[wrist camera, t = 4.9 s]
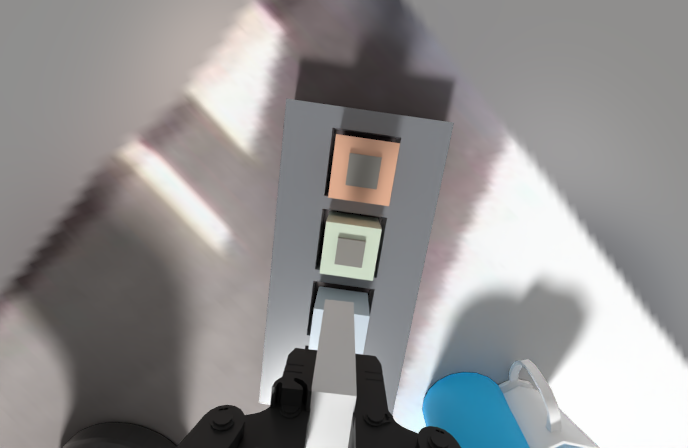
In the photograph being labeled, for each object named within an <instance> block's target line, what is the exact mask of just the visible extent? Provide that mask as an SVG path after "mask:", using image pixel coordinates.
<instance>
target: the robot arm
mask: <svg viewBox="0 0 688 448" xmlns="http://www.w3.org/2000/svg"><path fill="white" fill-rule="evenodd" d="M63 448H461V447H460V445H459V443H458V442H457V440H456V439H455V438H454V437H453V436H452V435H451V434H450V433H448V432H447V431H446V430H444V429H441V428H439V427H434V426H428V427H425V428H422V429H421V431H420V432H419V434H418V433H415V432H413V431H410V430H408V429H406V428H404V427H402V426H400V425H399V424H398V423H396V422H395V421H394V419H393V416H392V414H391V413H390V412H389V410H388V405H387V398H386V391H385V385H384V378H383V371H382V365H381V363H380V361H379V360H378V359H377V357H376V356H372V355H363V354H355V328H354V302H345V301H337V300H328V299H325V304H324V310H323V317H322V323H321V330H320V336H319V343H318V349H317V350H311V349H302V348H295V349H294V350H293V351H292V352H291V353H290V354H289V355H288V358H287V361H286V365H285V368H284V372H283V375H282V377H280V378H279V379H278V380H276V381H275V382H274V384H273V385H272V390H271V403H270V407H269V408H267V409H266V410H264V411H262V412H259V413H255V414H250V415H244V413H243V412H242V410H241V409H239V408H238V407H236V406H231V405H224V406H218V407H216V408H214V409H212V410H210V411H209V412H208V413H207V414H205V415H204V416H203V418H202V419H201V420H200V421H199V422H198V423H197V424H196V426H195V427H194V428H193V429H192V430H191V431H190V433H189V434H188V435H187V436H186V437H185V438H184V439H183V441H182V442H181V443H180V444H179V445H178V446H176V445H174V444H173V443H172V442H171V441H169V440H168V439H167V438H165V437H163V436H162V435H160V434H158V433H156V432H154V431H152V430H149V429H147V428H144V427H141V426H137V425H133V424H127V423H103V424H98V425H94V426H91V427H88V428H86V429H84V430H82V431H80V432H79V433H77V434H76V435H74V436H73V437H72V438H71V439H70V440H69V441H68V442H67V443H66V444H65V445H64V447H63Z"/></svg>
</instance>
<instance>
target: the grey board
mask: <svg viewBox="0 0 688 448" xmlns="http://www.w3.org/2000/svg"><path fill="white" fill-rule="evenodd" d="M453 125H454V123H452V122H445V121H438V120H431V119H425V118H418V117H411V116H404V115H397V114H390V113H383V112H376V111H369V110H362V109H355V108H348V107H341V106H334V105H327V104H320V103H313V102H307V101H300V100H293V99H286V109H285V120H284V131H283V142H282V153H281V164H280V175H279V186H278V197H277V208H276V219H275V231H274V242H273V253H272V264H271V275H270V286H269V297H268V308H267V319H266V330H265V341H264V352H263V363H262V374H261V385H260V396H259V403H261V404H269V405H270V403H271V390H272V385H273V384H274V382H275V381H276V380H278V379H279V378H280V377H282V375H283V372H284V368H285V365H286V361H287V358H288V355H289V354H290V353H291V352H292V351H293V350H294V349H295V348H302V349H307V346H309V342H310V334H311V326H312V318H313V317H311V314H312V306H313V298H314V290H315V282H316V281H319V282H326V283H333V284H340V285H347V286H354V287H361V288H368V289H370V293H369V298H368V303H369V314H370V318H369V323H368V329H367V335H366V340H365V346H364V352H363V355H372V356H376V357H377V359H378V360H379V361H380V363H381V365H382V371H383V378H384V385H385V391H386V398H387V405H388V410H389V412H390V413H391V414H393V409H394V404H395V399H396V395H397V390H398V385H399V380H400V376H401V371H402V366H403V361H404V357H405V352H406V347H407V342H408V338H409V333H410V328H411V324H412V319H413V314H414V309H415V305H416V300H417V295H418V290H419V286H420V281H421V276H422V271H423V267H424V262H425V257H426V252H427V248H428V243H429V238H430V234H431V229H432V224H433V219H434V215H435V210H436V205H437V200H438V196H439V191H440V186H441V181H442V177H443V172H444V167H445V162H446V158H447V153H448V148H449V144H450V139H451V134H452V129H453ZM335 129H336V130H343V131H350V132H357V133H364V134H371V135H378V136H385V137H392V138H396V141H395V143H400V147H399V152H398V158H397V164H396V169H395V175H394V181H393V186H392V192H391V198H390V204H389V206H384V205H377V204H370V203H363V202H356V201H349V200H342V199H335V198H328V194H329V190H327V188H328V180H329V172H330V164H331V156H332V148H333V141H334V133H335ZM325 209H329V210H336V211H343V212H350V213H357V214H364V215H371V216H378V217H382V223H381V228H382V231H381V237H380V243H379V248H378V254H377V260H376V266H375V271H374V277H373V281H370V280H363V279H356V278H349V277H342V276H334V275H327V274H320V265H321V258H322V257H319V251H320V243H321V235H322V227H323V219H324V211H325Z"/></svg>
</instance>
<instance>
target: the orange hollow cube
mask: <svg viewBox="0 0 688 448" xmlns="http://www.w3.org/2000/svg"><path fill="white" fill-rule="evenodd" d="M399 147H400V143H394V142H387V141H380V140H373V139H366V138H359V137H352V136H345V135H338V134H336V139H335V147H334V155H333V163H332V170H331V178H330V186H329V194H328V198H335V199H342V200H349V201H356V202H363V203H370V204H377V205H384V206H389V204H390V198H391V192H392V186H393V181H394V175H395V169H396V164H397V158H398V152H399Z"/></svg>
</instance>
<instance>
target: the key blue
mask: <svg viewBox="0 0 688 448" xmlns="http://www.w3.org/2000/svg"><path fill="white" fill-rule="evenodd" d="M325 299H328V300H337V301H345V302H354V328H355V354H363V352H364V346H365V340H366V335H367V329H368V323H369V318H370V314H369V303H368V293H364V292H356V291H349V290H342V289H335V288H328V287H321V286H319V289H318V293H317V297H316V301H315V305H314V311H313V318H312V326H311V334H310V342H309V349H311V350H317V349H318V343H319V336H320V330H321V323H322V317H323V310H324V304H325Z"/></svg>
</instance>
